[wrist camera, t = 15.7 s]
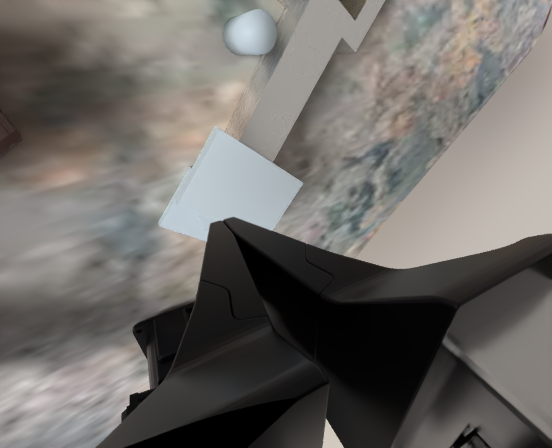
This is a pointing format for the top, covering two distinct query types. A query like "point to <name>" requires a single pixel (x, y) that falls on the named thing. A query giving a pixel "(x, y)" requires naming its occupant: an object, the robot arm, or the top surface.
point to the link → (296, 67)
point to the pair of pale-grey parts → (233, 160)
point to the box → (7, 135)
